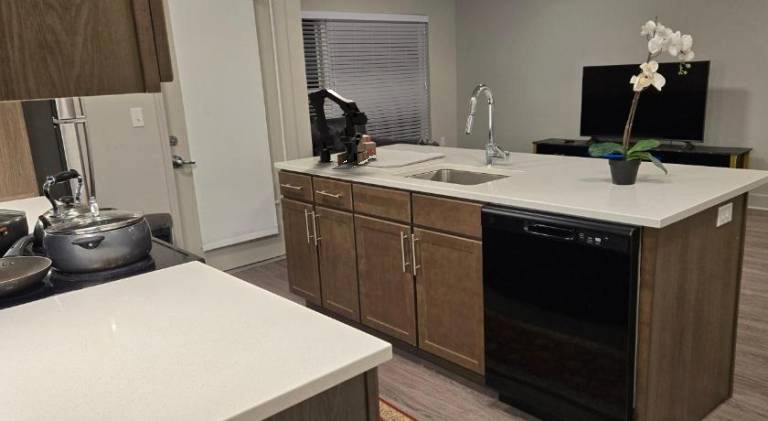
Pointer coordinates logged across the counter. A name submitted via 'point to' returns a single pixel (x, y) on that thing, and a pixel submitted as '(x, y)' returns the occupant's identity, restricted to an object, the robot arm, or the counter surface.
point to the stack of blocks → (367, 145)
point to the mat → (343, 167)
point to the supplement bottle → (352, 153)
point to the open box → (360, 157)
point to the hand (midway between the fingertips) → (352, 153)
